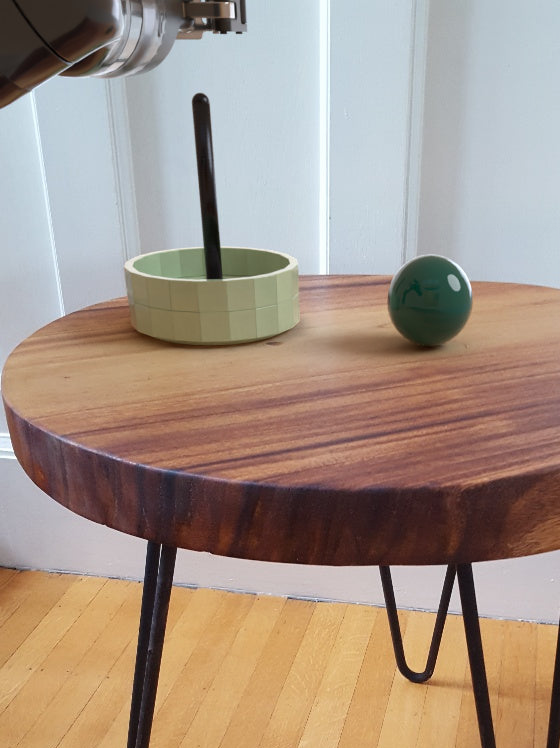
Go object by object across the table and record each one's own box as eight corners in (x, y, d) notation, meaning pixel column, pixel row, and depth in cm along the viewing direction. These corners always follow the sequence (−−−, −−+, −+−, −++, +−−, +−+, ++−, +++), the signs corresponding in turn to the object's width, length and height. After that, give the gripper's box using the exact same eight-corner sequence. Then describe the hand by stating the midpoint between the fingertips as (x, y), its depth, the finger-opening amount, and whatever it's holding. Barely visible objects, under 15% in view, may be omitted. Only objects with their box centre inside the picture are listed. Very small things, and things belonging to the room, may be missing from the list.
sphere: (447, 361, 86) (452, 267, 82) (371, 348, 90) (371, 257, 85) (483, 341, 92) (490, 252, 88) (410, 329, 96) (413, 243, 91)
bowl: (125, 351, 88) (116, 282, 85) (139, 307, 102) (131, 247, 99) (305, 346, 90) (303, 279, 87) (294, 304, 104) (292, 245, 101)
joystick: (186, 328, 93) (164, 94, 82) (188, 313, 98) (167, 90, 87) (248, 327, 94) (234, 94, 83) (247, 312, 99) (233, 90, 88)
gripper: (213, -68, 57) (253, -49, 70) (-22, -70, 57) (63, -51, 71) (223, 79, 61) (259, 70, 75) (3, 76, 62) (79, 68, 75)
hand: (163, 11), depth 73 cm, fingers open, 8 cm apart
